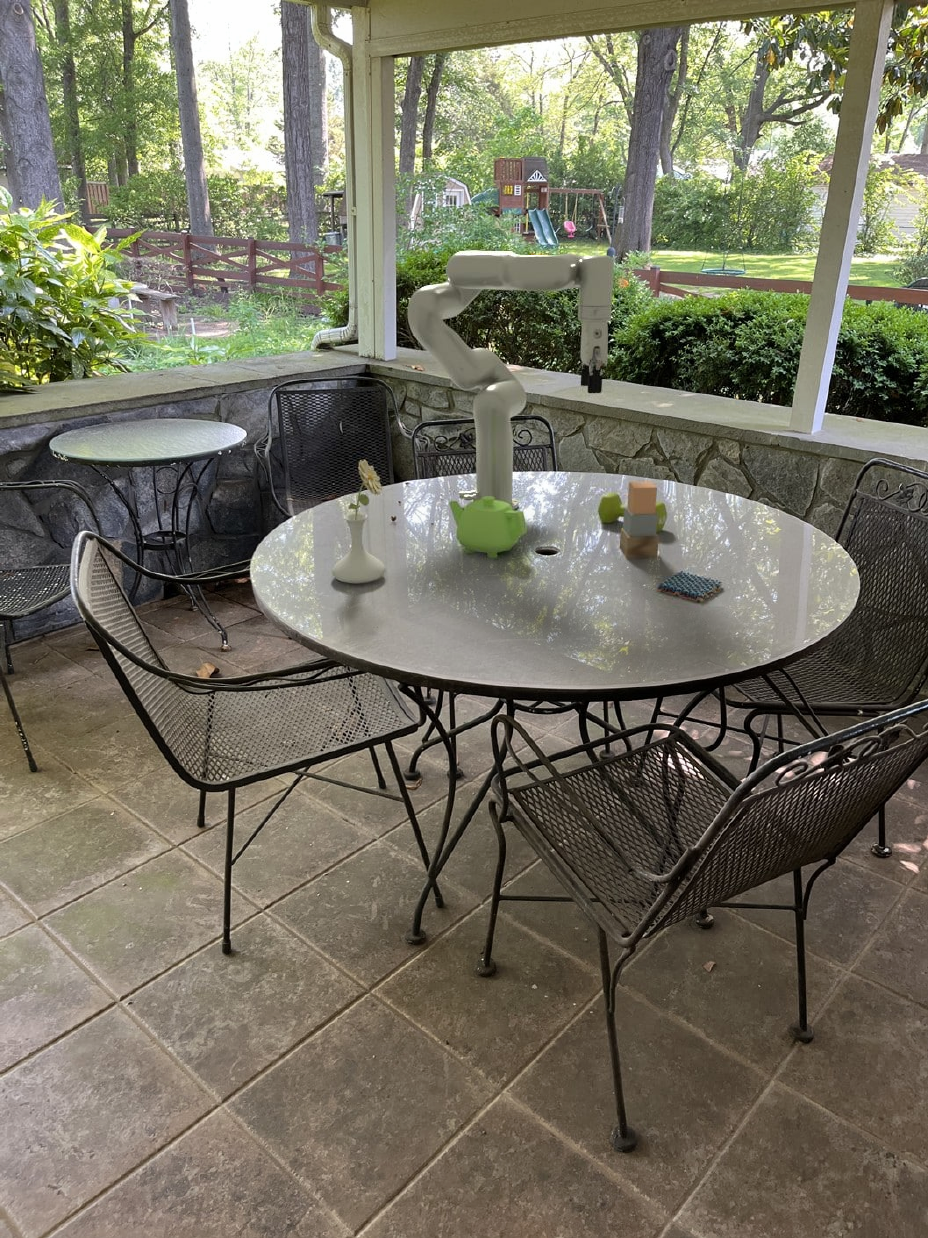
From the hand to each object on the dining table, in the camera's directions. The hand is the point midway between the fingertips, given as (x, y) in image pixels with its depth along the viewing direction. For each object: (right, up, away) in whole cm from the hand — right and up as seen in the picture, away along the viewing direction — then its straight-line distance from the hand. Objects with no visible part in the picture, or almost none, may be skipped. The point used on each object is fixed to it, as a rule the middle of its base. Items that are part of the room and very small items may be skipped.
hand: (590, 389), depth 207 cm
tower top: (+9, -35, -11) cm, 38 cm away
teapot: (-25, -39, -6) cm, 47 cm away
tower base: (+9, -40, -9) cm, 42 cm away
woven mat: (+16, -49, -28) cm, 59 cm away
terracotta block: (+9, -31, -13) cm, 34 cm away
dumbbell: (+11, -32, +8) cm, 35 cm away
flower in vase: (-52, -46, -21) cm, 73 cm away
